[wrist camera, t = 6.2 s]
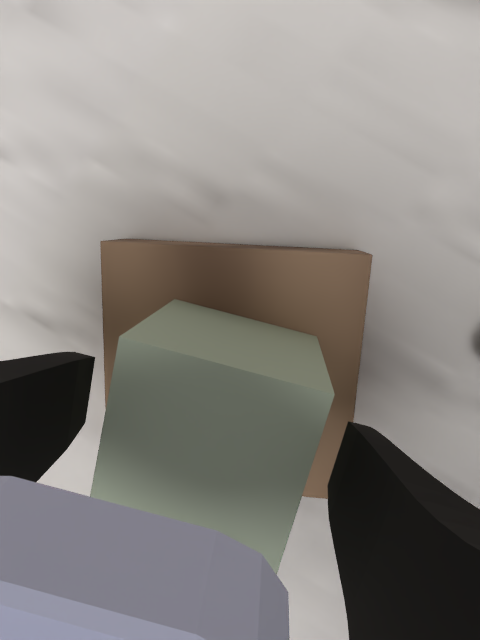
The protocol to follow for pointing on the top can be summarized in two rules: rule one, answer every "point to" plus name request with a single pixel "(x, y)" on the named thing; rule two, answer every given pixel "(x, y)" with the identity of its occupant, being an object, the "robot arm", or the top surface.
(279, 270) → the walnut block
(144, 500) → the sage cube
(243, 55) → the top surface
